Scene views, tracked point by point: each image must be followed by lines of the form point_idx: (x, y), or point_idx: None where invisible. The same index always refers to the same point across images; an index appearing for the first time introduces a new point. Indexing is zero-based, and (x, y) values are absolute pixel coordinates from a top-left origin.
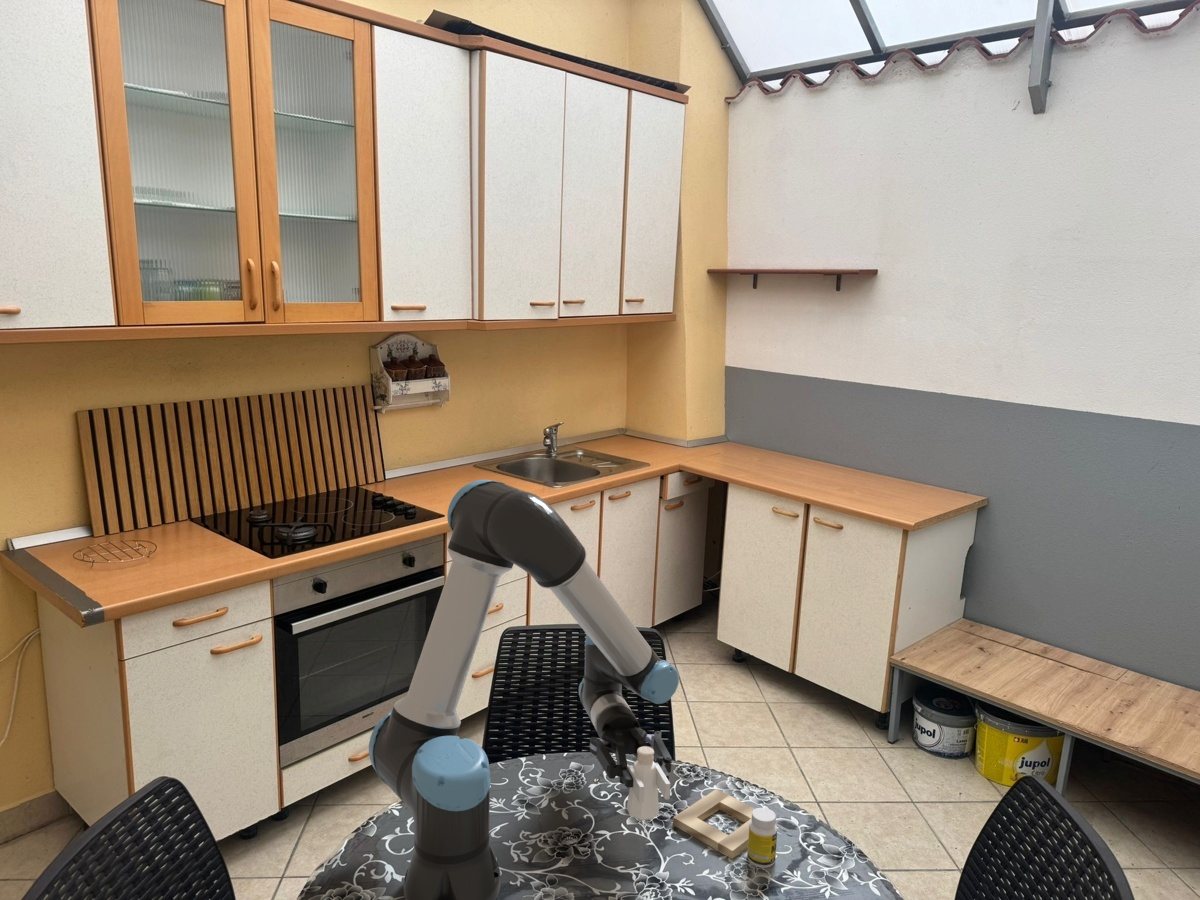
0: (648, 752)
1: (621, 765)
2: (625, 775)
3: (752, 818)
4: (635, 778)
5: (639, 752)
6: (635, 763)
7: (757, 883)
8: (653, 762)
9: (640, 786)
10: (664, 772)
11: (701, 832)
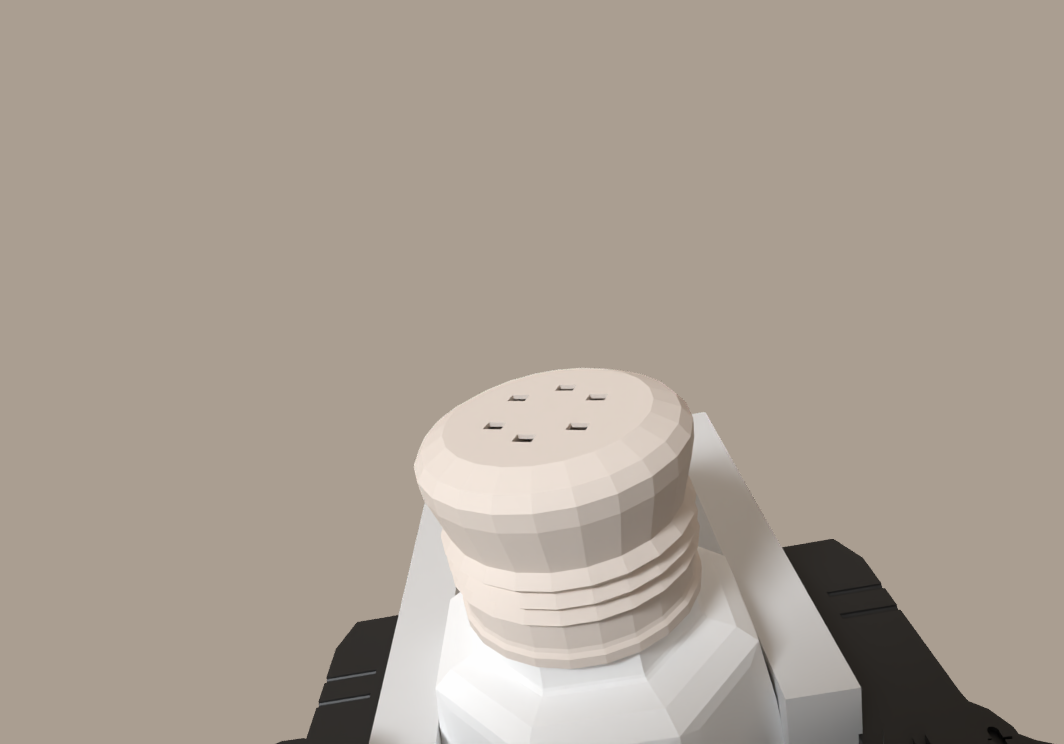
0: (527, 382)
1: (993, 716)
2: (876, 595)
3: None
4: (742, 480)
5: (660, 383)
6: (734, 613)
7: None
8: (457, 630)
9: (699, 416)
10: (369, 672)
11: None
